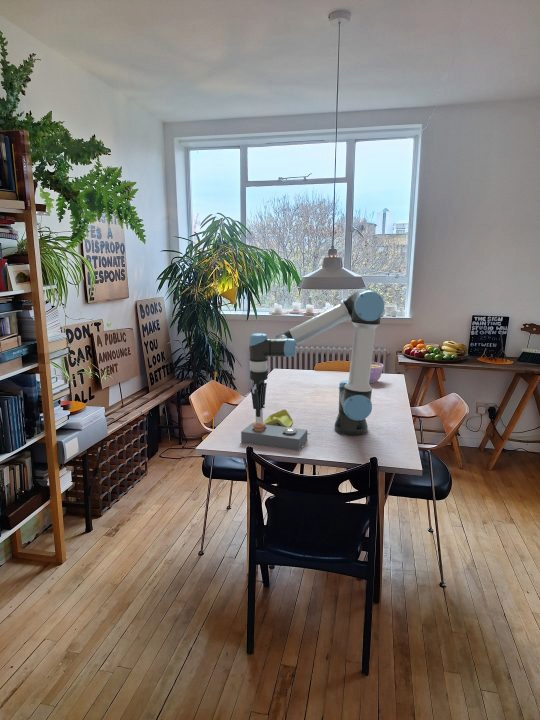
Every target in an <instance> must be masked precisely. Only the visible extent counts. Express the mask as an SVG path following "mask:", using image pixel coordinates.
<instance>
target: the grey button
mask: <svg viewBox="0 0 540 720" xmlns="http://www.w3.org/2000/svg"><path fill="white" fill-rule="evenodd" d="M295 428H296V427H289V428H284V429H283V433H284V434H286V435H295V434H296V429H295Z"/></svg>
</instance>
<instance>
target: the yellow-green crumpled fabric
mask: <svg viewBox="0 0 540 720" xmlns="http://www.w3.org/2000/svg"><path fill="white" fill-rule="evenodd" d="M263 422H265V423H266V425H273V426H281V427H289V428H291V426H292V425H293V423H294V421H293V419H292V417H291V415H290V413H289V412H288V411H287V409H286V408H285V409H282V410H279V411H276V412H274V413H272V414H270V415H269V416H267V417H266V419H265V420H263Z"/></svg>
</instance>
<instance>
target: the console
mask: <svg viewBox="0 0 540 720" xmlns="http://www.w3.org/2000/svg"><path fill="white" fill-rule="evenodd" d="M253 423H254V422H252V423H250V424H248V426H247V427H245V428H243V429H242V431H240V437H241V438H240V439H241V444H249V445H256V446H262V447H269V448H276V449H284V450H291V451H297V450H298V451H297V452H300V450H301V449H302V448H303V447H304V446H305V444H306V443H307V442H308V429H304V428H296V427H294V428H295V429H296V434H295V435H286V434H284V433H283V429H284V428H290V427H283V426H282V425H278V426H273V425H266V427H264V431H255V430H254V427H253ZM302 446H303V447H302Z"/></svg>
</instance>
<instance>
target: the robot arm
mask: <svg viewBox="0 0 540 720" xmlns="http://www.w3.org/2000/svg"><path fill="white" fill-rule="evenodd" d="M384 311H385V301H384V299H383V297H382V296H381V294H379V293H378V292H377V291H375V290H371V289H367V288H363V289H359V290H357V291H356V292H353V293H352V294H351V295H349V296H347V297H346V298H344V299H342V300H341V301H340V303H339V304H338V305H334V307H331V308H330V309H328V310H326V311H323V312H321V313H320V314H317V315H315V316H314V317H312V318H309V319H308V320H306V321H304V322H302V323H300V324H298V325H296V326H294V327H292V328H290V329H288V330H287V331H285V332H280V333H279V334H277V335H275V337H274V338H268V335H267V334H266V333H261V332H259V333H252V334H250V335H249V346H248V347H249V348H248V349H249V362H248V364H249V370H250V371H249V379H250V380H251V381H253V384H252V388H250V393H251V400H252V408H253V410H255V422H256V423H258V424H262V423H263V422H264V416H263V415H264V412H263V410H264V409H265V408H266V406H265V405H266V394H267V385H268V383H267V382H265V381H266V380H268V377H269V376H268V374H269V373H268V369H269V368H268V367H269V366H268V365H269V363H268V357H269V358H270V357H271V358H272V357H274V358H275V357H281V358H284V357H286V358H289V357H295V356H296V353H297V349H296V347H297V345H300V344H302V343H303V342H305V341H307V340H310V339H311V338H314V337H316V336H317V335H319V334H321V333H323V332H325V331H327V330H329V329H331V328H333V327H335V326H337V325H339V324H342V323H343V322H345V321H351V324H352V325H353V327H354V329H353V337H352V347H351V355H350V363H349V364H350V365H349V371H348V372H349V375H348V380H341V381H340V382H339V385H338V389H339V390H338V391H339V392H338V414H337V416H336V420H335V422H334V427H333V428H334V431H335V432H336V433H338V434H342V435H346V436H361V435H364V434H366V433H368V430H369V429H368V427H369V426H368V425H369V424H368V423H367V419H366V418H368V417H369V416H370V415H371V413H372V409H373V404H372V403H373V402H372V394H373V388H372V387H371V385H370V383H369V380H370V371H371V363H372V362H373V361H372V360H373V352H374V346H375V344H374V343H375V338H376V337H375V336H376V329H377V328H378V327H380V325H381V318H382V315H383V314H384V313H383V312H384Z"/></svg>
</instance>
